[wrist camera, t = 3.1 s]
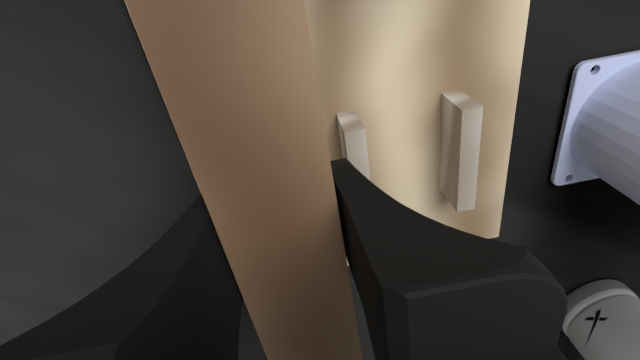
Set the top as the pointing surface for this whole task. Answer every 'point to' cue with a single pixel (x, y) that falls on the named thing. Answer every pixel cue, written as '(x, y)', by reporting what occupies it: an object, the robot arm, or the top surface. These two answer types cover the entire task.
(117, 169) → the top surface
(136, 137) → the top surface
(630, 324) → the travel mug
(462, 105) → the slat board
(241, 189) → the slat
